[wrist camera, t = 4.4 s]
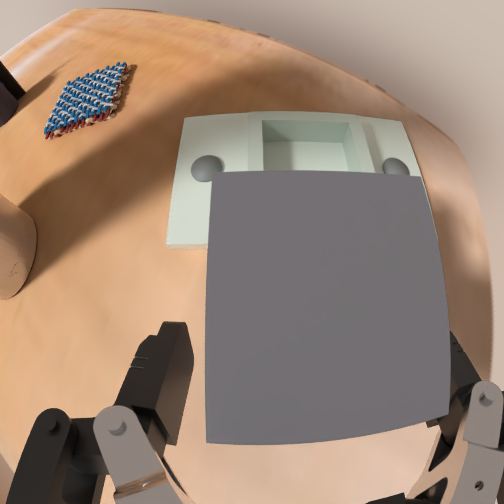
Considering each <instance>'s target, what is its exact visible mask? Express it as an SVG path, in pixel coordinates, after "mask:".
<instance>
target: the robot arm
mask: <svg viewBox="0 0 504 504" xmlns="http://www.w3.org/2000/svg"><path fill="white" fill-rule="evenodd" d="M36 243H37V233H36V227H35V224H34V221H33V219H32V218H31V217H30V215H28V214H27V213H26V212H24V211H23V210H21V209H20V208H19V207H17V206H16V205H14V204H13V203H12V202H10V201H9V200H8V199H6V198H5V197H4V196H3V195H1V194H0V299H8V298H10V297H12V296H13V295H15V294H16V293H17V292H18V291H19V290H20V288H21V287H22V285H23V284H24V282H25V281H26V279H27V276H28V274H29V272H30V270H31V267H32V264H33V260H34V256H35V251H36ZM450 356H451V375H450V400H449V414H447V415H445V416H441V417H438V418H435V419H432V420H429V421H425V422H426V424H427V427H428V428H429V427H432V426H436V425H439V426H440V430H439V431H438V433H437V436H436V439H435V441H434V444H433V447H432V450H431V453H430V455H429V458H428V460H427V463H426V466H425V468H424V470H423V473H422V475H421V476H420V478H419V479H418V481H417V482H416V483H415V484H414V486H413V487H412V489H411V490H410V492H409V494H408V495H407V497H406V498H405V495H404V493H400V494H397V495H393V496H390V497H386V498H382V499H378V500H374V501H370V502H368V503H366V504H495V500H496V497H497V502H498V504H504V391H501V390H500V388H499V387H498V386H497V385H495V384H494V383H492V382H490V381H482V380H481V379H480V377H479V375H478V374H477V372H476V370H475V368H474V367H473V365H472V363H471V362H470V360H469V358H468V357H467V355H466V354H465V352H463V349H462V347H461V346H460V344H458V341H457V339H456V338H455V336H454V335H453V333H452V332H451V331H450ZM193 367H194V354H193V350H192V345H191V341H190V337H189V333H188V328H187V325H186V323H185V322H168V321H164V322H163V323H162V325H161V327H160V330H159V332H158V335H157V336H156V335H149V336H148V337H147V338H146V339H145V340H144V341H143V342H142V343H141V344H140V345H139V347H138V350H137V352H136V354H135V358H134V359H133V361H132V363H131V368H129V370H128V372H127V375H126V377H125V380H124V382H123V384H122V387H121V389H120V392H119V394H118V396H117V399H116V401H115V403H114V405H113V406H110V407H107V408H105V409H104V410H102V411H101V412H100V413H99V414H98V415H97V416H96V417H93V418H73V419H70V418H69V417H68V415H67V414H66V413H65V412H64V411H62V410H60V409H57V408H51V409H47V410H45V411H43V412H42V413H41V414H40V415H39V416H38V417H37V419H36V421H35V423H34V425H33V427H32V430H31V432H30V435H29V437H28V440H27V442H26V445H25V447H24V450H23V452H22V455H21V458H20V460H19V463H18V466H17V469H16V472H15V475H14V478H13V481H12V484H11V487H10V491H9V494H8V497H7V501H6V504H100V500H101V495H102V491H103V486H104V482H105V477H106V475H110V476H111V478H112V481H113V483H114V485H115V488H116V491H115V492H114V500H115V503H116V504H195V502H194V501H193V500H192V499H191V497H190V496H189V495H188V493H187V492H186V490H185V489H184V487H183V486H182V484H181V483H180V481H179V479H178V478H177V476H176V475H175V473H174V471H173V470H172V468H171V467H170V465H169V463H168V462H167V460H166V458H165V456H164V455H163V454H164V450H165V446H166V444H169V445H175V446H176V444H177V439H178V434H179V430H180V425H181V421H182V416H183V412H184V407H185V403H186V398H187V394H188V389H189V385H190V381H191V376H192V372H193Z"/></svg>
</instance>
